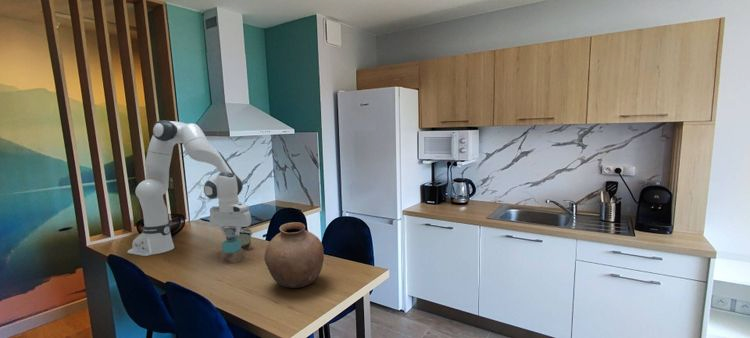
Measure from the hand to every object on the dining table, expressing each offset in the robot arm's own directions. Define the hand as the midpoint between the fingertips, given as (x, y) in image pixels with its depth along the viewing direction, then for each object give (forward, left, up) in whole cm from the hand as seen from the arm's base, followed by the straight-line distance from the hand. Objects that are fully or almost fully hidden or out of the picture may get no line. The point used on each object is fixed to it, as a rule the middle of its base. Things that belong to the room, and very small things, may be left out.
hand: (231, 235), depth 172 cm
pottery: (+42, -21, -13) cm, 49 cm away
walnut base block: (0, 0, -13) cm, 13 cm away
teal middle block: (0, 0, -8) cm, 8 cm away
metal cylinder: (0, 0, -2) cm, 2 cm away
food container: (-5, +17, -13) cm, 22 cm away
